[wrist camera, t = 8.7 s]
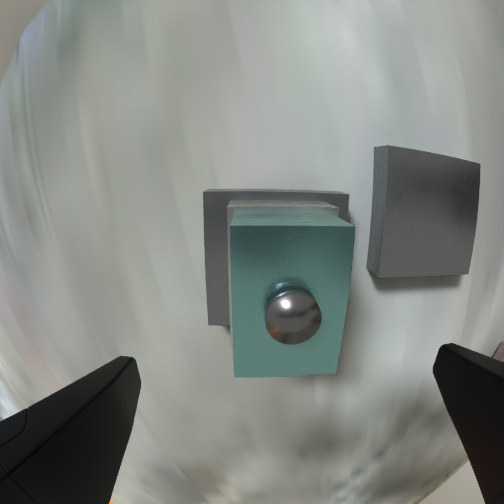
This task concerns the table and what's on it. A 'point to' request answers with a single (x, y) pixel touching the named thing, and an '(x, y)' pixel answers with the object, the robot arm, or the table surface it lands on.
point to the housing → (287, 286)
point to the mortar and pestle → (500, 352)
